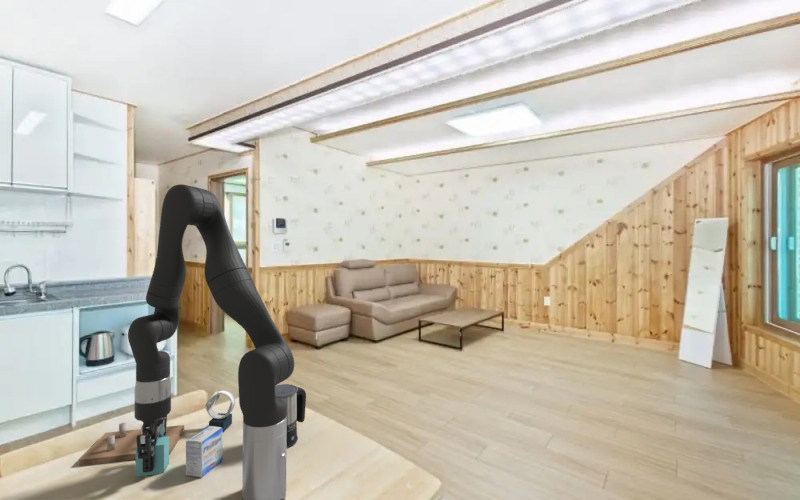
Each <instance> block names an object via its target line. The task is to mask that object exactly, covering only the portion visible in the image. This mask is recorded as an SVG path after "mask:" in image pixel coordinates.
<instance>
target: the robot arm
mask: <svg viewBox="0 0 800 500" xmlns="http://www.w3.org/2000/svg"><path fill="white" fill-rule="evenodd" d="M159 221H160V223H159V231H158V242H157V252H156V258H155V264H154V267H153V272H152V275H151V278H150V281H149V284H148V289H147V291H146V295H145V302H146V303H147V305H149V306H150V307H152V308H154V312H153V313H152V314H148V315H144V316H140V317H137V318H135V319H134V320H133V321H131V324H130V326H128V331H127V339H128V343H129V346H130V349H131V353H132V356H133V359H134V361H135V386H134V412H133V414H134V419H136V420H137V421H140V422H142V423H143V424H142V425H141V427H140V429H141V435H138V436H137V438H136V439H137V451H138V459H142V458H143V472H152V471H153V469H154V454H155V445H157V444H158V438H159V437H164V436H165V435H166V427H167V425H168V423H167V422H168V415H169V414H170V413H171V410H172V382H171V381H172V380H171V357H170V354H169V352H166V351H164V350H163V351H162V350H159V349H158V343H161V342H164V341H167V340H169V339H171V338H172V337H173V335H175V333H176V331H177V329H178V327H179V319H180V299H181V296H182V292H183V288H184V287H185V284H186V283H185V282H186V279H187V267H186V261H185V256H184V252H183V240H184V235H185V232H186V230H187V227H188V226H194V227H195V228H196V229H197V230H198V232H199V234H200V235H201V238H202V240H203V242H204V246H205V249H206V250H205V251H206V253H205V260H204V261H205V262H204V263H205V264H204V279H205V282H206V285H207V287H208V289H209V291H210V294H211V295H212V298H213V300H214V301H215V303H216V305H217V306H218V308H220V309H221V311H223V312H224V313H225V314H226V316H228V317H229V318H231V319H232V320H234V322H235V323H237V324H238V325H239V326H240V327H241V328H242V329H243V330H244V331H245V332H246V334H247V335H248V336H249V338H250V340H251V342H252V344H253V347H254V349H251V350H249V351H247V352H245V353H244V354H243V355H242V357H241V358H240V360H239V361H240V362H239V364H238V370H237V371H238V372H237V381H238V382H237V383H238V403H239V409H240V410H241V411H240V412H241V413H242V481H241V482H242V483H241V484H242V487H241V491H242V500H285V499H286V497H287V495H286V494H287V452H288V451H287V449H288V448H287V443H286V439H287V405H286V403H285V401H283V400H282V399H279V398H276V396H275V385H280V384H281V383H282V382H284V381H286V380H288V379H289V378H290V377H291V376H292V374H293V373H294V368H295V359H294V355H293V352H292V350H291V348H290V346H289V345H288V343H287V342H286V340H285V338H284V336H283V335H282V334H281V332H280V330H279V328H278V327H277V326H276V324H275V322H274V320H273V319H272V317H271V315H270V313H269V311H268V309H267V307H266V305H265V303H264V301H263V300H262V297H261V295H260V294H259V292H258V288H257V286H256V285H255V282H254V280H253V278H252V276H251V274H250V271H249V269H248V267H247V265H246V264H245V262H244V259H243V258H242V255H241V254H240V251H239V249H238V247H237V244H236V243H235V240H234V239H233V236H232V234H231V231H230V229H229V226H228V222H227V220H226V217H225V214H224V211H223V208H222V205H221V203H220V201H219V199H218V197H217V196H216V195H215V194H214V193H213V192H212V191H210V190H208V189H205V188H201V187H196V186H192V185H187V184H176V185H173V186H171V187H170V188H169V189H168V190H167V191H166V194H165V195H164V198H163V203H162V207H161V214H160V220H159ZM153 439H155V440H154V441H153V442H151V440H153ZM146 450H147V451H146Z"/></svg>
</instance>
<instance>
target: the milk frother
mask: <svg viewBox="0 0 800 500" xmlns="http://www.w3.org/2000/svg"><path fill="white" fill-rule="evenodd" d="M306 392H307V391H306V390H305V389H304V388H302V387H299V386H297V385H293V384H288V383H283V384H281V383H280V384H277V385H275V396H276V398H279V399H282V400H283V401H285V403H286V405H287V439H286V443H287V449H289V448H291V447H292V446H294V445H295V444H296V443H297V442H298V439H299V436H298V431H297V430H298V427H297V422H299V423H303V422H304V421H305V419H306V402H307V393H306Z"/></svg>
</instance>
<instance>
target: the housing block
mask: <svg viewBox="0 0 800 500" xmlns="http://www.w3.org/2000/svg"><path fill="white" fill-rule="evenodd" d="M154 440H155V439H153V440H151V442H153V441H154ZM146 451H147V450H146ZM169 465H170V455H169V436H168V437H159V438H158V444H157V445H155V454H154V469H153V471H152V472H143V458H142V459H138V451H137V447H136V459H135V477H140V476H141V477H143V476H144V477H145V476H152V475H159V474H164V473H165V472H166V470H167V468H168V466H169Z"/></svg>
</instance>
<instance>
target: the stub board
mask: <svg viewBox="0 0 800 500" xmlns="http://www.w3.org/2000/svg"><path fill="white" fill-rule="evenodd" d="M184 431H185V424H180V425H170V426H166V435H165V436H164V437H168V436H169V456H171V453H173V451H174V449H175V447H176V445H177V443H178V441H179V440H180V438H181V437H182V434H183V433H184ZM138 435H141V428H140V429H139V428H138V429H129V430H127V422H121V423H119V424H118V431H109V432H108V431H107V432H104V434H103V435H102V436H101V437H100V438H99V439H97V441H96V442H95V443H94V444H93V445H92V446H91V447H89V449H88V450H87V451H86V452H85V453H84V454H83V455H82V456H81V457H80V458H79V459H78V466H79V467H81V466H83V467H84V466H89V465H90V466H91V465H98V464H109V463H115V462H116V463H117V462H124V461H134V460H135V461H136V447H137V439H136V438H137V436H138Z"/></svg>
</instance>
